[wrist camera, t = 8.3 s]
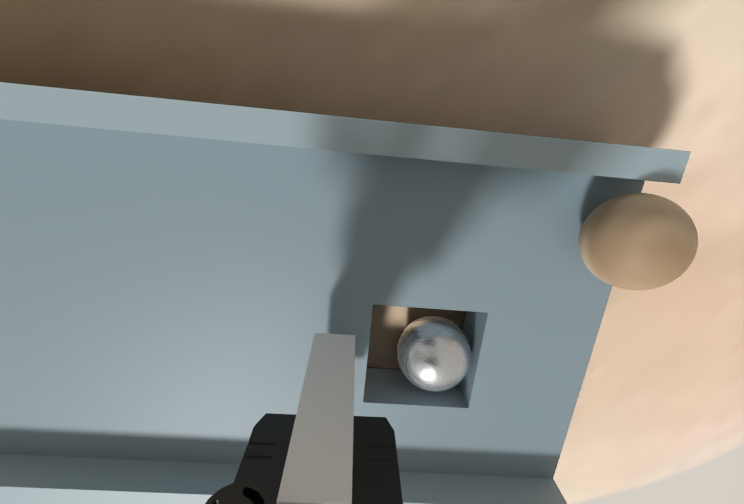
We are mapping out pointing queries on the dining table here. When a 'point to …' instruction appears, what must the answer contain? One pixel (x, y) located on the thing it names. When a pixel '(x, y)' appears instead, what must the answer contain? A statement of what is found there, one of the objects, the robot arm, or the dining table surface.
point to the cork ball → (638, 241)
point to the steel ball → (434, 353)
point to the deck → (283, 289)
